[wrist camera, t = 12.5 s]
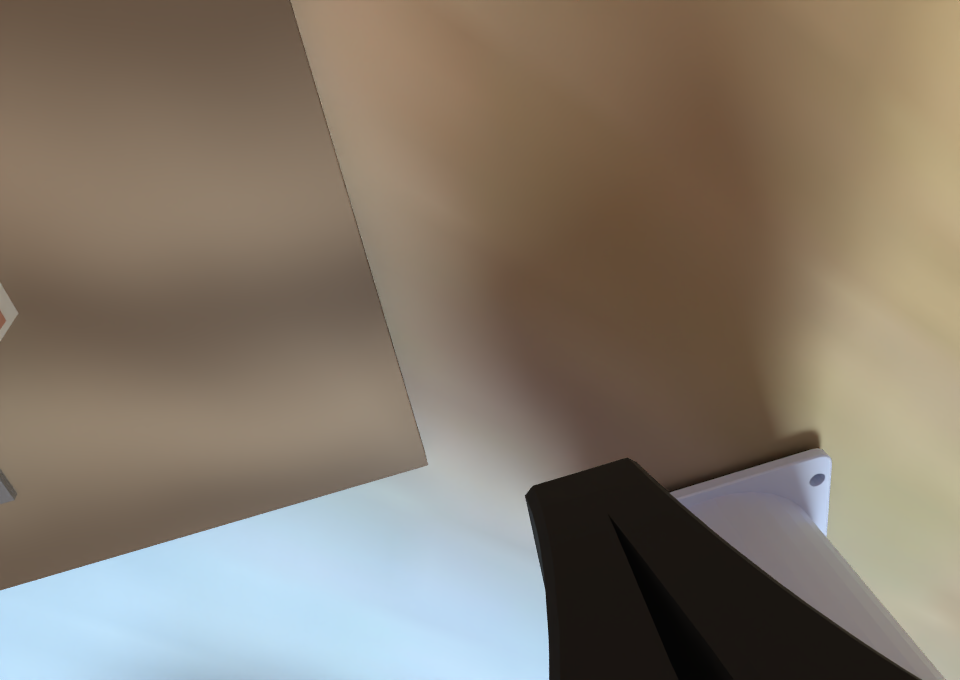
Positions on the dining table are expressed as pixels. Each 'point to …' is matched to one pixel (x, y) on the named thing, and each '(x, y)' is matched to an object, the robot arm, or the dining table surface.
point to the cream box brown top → (6, 312)
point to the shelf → (177, 282)
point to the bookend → (6, 490)
